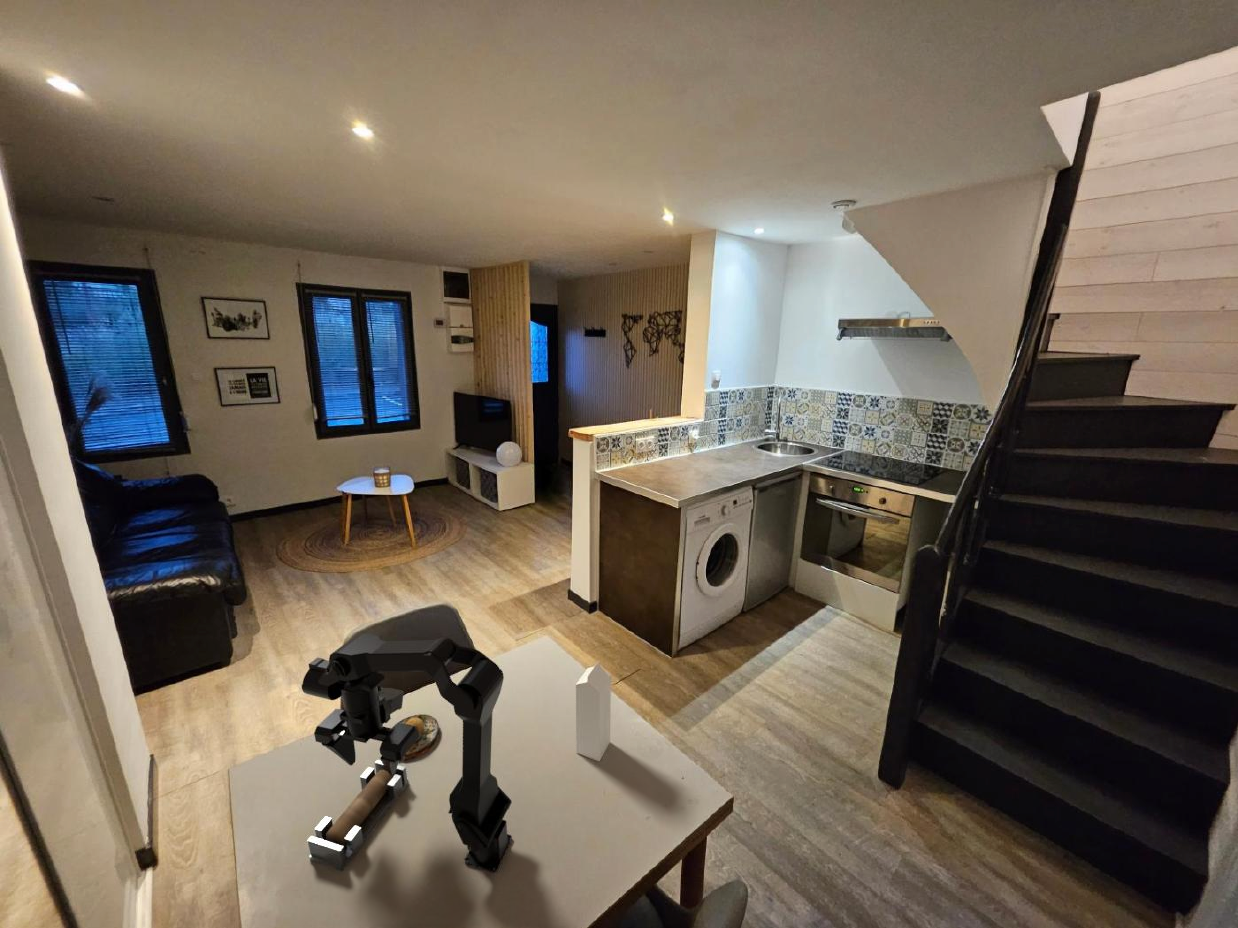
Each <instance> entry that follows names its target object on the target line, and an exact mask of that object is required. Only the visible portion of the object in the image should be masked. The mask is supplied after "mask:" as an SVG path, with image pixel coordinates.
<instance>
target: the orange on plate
mask: <svg viewBox="0 0 1238 928" xmlns="http://www.w3.org/2000/svg"><path fill="white" fill-rule="evenodd" d="M398 723H406V724H410V725H415V726H417V727H418V732H419V738H418V739H417V740H416V741H415V743H414V744H413V745H412V746H411V748H410V749H409V750H408V751H407V753H406V754H405V755H404V756H403V758H402V759H400V760H399V761H405V760H406V759H407V760H409V759H411V758H413V759H416V758H418V757H421V756H422V755H423V754H424V753H427V752H429V751H430V750H431V749H433V747H434V746H435V745H436V744H437V741H438V740H439V737H440V733H441V731H440V725H439V722H438V720H437V719H436V718H435V717H433V716H431V715H428V714H421V713H420V714H414V715H410V716H408V717H405V718H403V719H402V720H400V721H399V722H397V723H395V724H394V725H393V726H392V727H391V728H392V729H393V728H394V727H395V726H396V725H397V724H398Z"/></svg>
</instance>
